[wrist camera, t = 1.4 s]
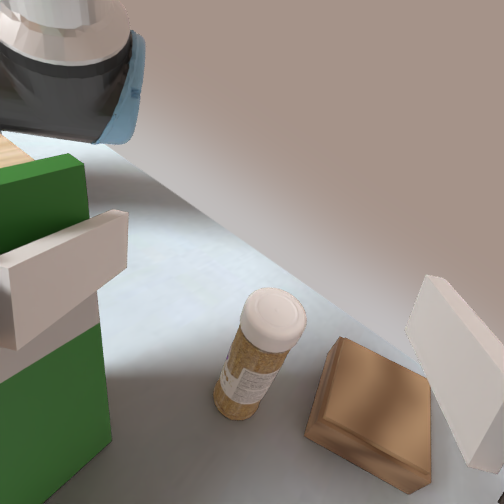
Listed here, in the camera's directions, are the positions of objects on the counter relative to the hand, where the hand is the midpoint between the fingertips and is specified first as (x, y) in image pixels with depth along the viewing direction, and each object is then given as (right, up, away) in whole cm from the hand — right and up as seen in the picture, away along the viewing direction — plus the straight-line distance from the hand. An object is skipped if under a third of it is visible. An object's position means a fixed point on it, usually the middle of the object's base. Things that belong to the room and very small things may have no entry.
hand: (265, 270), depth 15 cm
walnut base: (+10, -16, +19) cm, 27 cm away
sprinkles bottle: (-2, -13, +18) cm, 22 cm away
